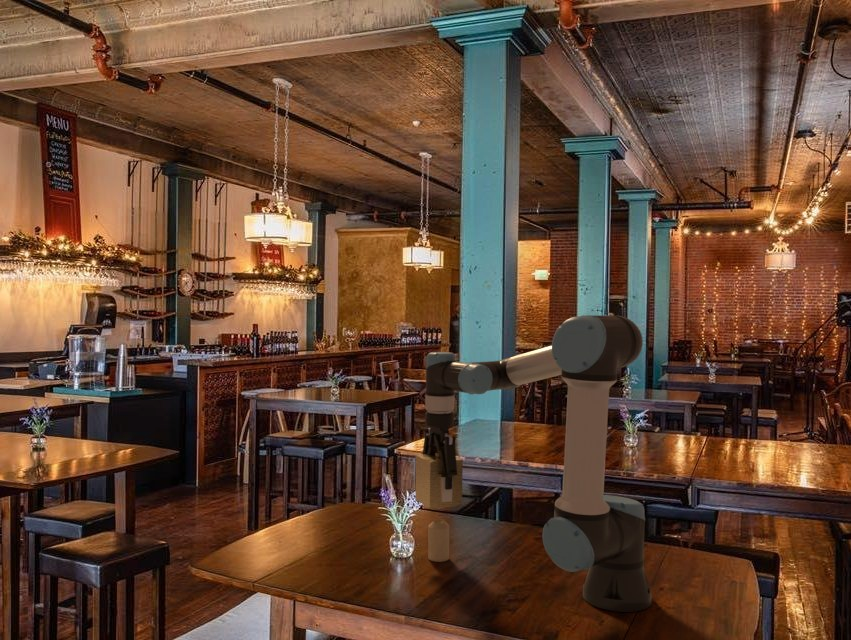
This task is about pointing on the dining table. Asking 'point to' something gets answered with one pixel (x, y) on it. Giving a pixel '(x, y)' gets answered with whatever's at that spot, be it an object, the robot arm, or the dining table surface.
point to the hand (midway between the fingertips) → (438, 496)
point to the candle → (438, 541)
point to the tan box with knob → (436, 481)
